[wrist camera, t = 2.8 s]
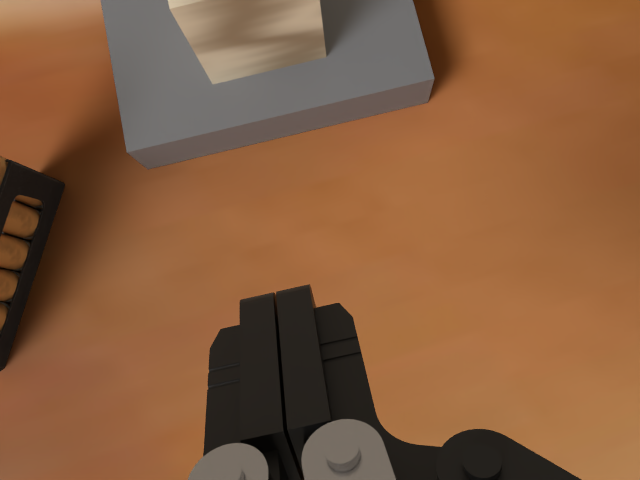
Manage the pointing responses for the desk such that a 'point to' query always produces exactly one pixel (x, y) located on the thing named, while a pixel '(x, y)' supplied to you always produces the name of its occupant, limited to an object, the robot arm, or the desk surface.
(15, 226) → the ammunition clip
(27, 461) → the desk surface
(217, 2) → the birch block
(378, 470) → the robot arm
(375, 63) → the plate
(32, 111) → the desk surface
